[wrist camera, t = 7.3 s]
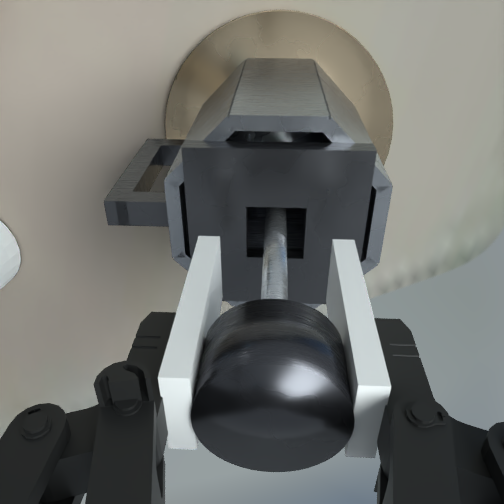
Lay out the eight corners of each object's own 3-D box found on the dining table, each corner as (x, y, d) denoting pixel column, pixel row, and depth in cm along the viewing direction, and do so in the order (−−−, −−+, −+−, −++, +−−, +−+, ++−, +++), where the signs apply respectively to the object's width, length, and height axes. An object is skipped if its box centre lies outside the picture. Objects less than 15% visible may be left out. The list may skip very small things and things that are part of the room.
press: (146, 9, 26) (58, 48, 16) (410, 10, 26) (498, 52, 15) (170, 227, 34) (121, 351, 23) (374, 232, 33) (416, 362, 23)
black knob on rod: (221, 91, 26) (123, 319, 10) (337, 92, 26) (431, 330, 10) (224, 196, 29) (156, 491, 13) (327, 198, 29) (384, 502, 13)
